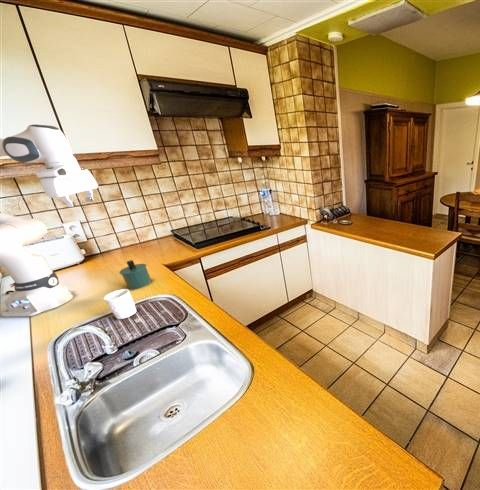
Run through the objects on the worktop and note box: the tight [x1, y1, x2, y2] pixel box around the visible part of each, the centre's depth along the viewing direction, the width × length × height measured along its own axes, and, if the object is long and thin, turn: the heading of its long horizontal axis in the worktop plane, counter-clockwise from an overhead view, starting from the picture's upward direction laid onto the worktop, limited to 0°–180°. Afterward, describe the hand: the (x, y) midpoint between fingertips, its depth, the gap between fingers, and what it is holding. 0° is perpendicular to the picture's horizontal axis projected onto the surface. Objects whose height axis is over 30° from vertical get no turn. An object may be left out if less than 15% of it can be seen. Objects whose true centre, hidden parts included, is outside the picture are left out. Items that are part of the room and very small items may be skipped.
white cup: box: [103, 288, 137, 320], centre depth 109 cm, size 8×8×10 cm
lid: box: [118, 259, 147, 276], centre depth 131 cm, size 10×10×5 cm
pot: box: [121, 267, 152, 290], centre depth 133 cm, size 9×9×8 cm
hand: (81, 203), depth 109 cm, fingers open, 8 cm apart
